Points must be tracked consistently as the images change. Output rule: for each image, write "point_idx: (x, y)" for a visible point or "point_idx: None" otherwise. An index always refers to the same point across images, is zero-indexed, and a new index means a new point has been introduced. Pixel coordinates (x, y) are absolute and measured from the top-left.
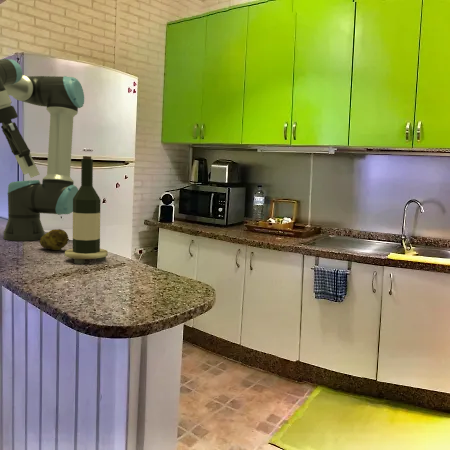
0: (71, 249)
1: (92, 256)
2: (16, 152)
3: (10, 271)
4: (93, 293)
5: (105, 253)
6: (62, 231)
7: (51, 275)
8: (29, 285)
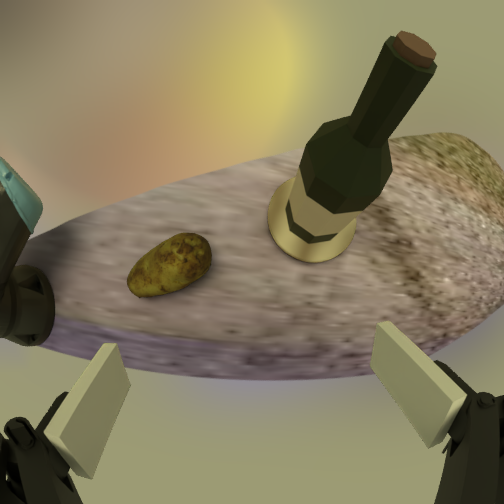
0: (284, 242)
1: None
2: (59, 476)
3: None
4: (488, 256)
5: None
6: (191, 244)
7: (414, 299)
8: (454, 330)
